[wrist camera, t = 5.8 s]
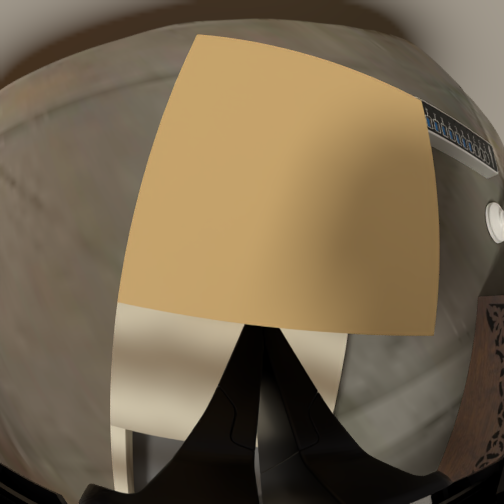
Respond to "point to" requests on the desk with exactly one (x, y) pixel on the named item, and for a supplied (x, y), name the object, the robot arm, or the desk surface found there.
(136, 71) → the desk surface
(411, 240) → the ochre block
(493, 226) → the chess piece
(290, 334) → the trap board
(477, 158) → the multiport hub
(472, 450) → the tissue box cover
